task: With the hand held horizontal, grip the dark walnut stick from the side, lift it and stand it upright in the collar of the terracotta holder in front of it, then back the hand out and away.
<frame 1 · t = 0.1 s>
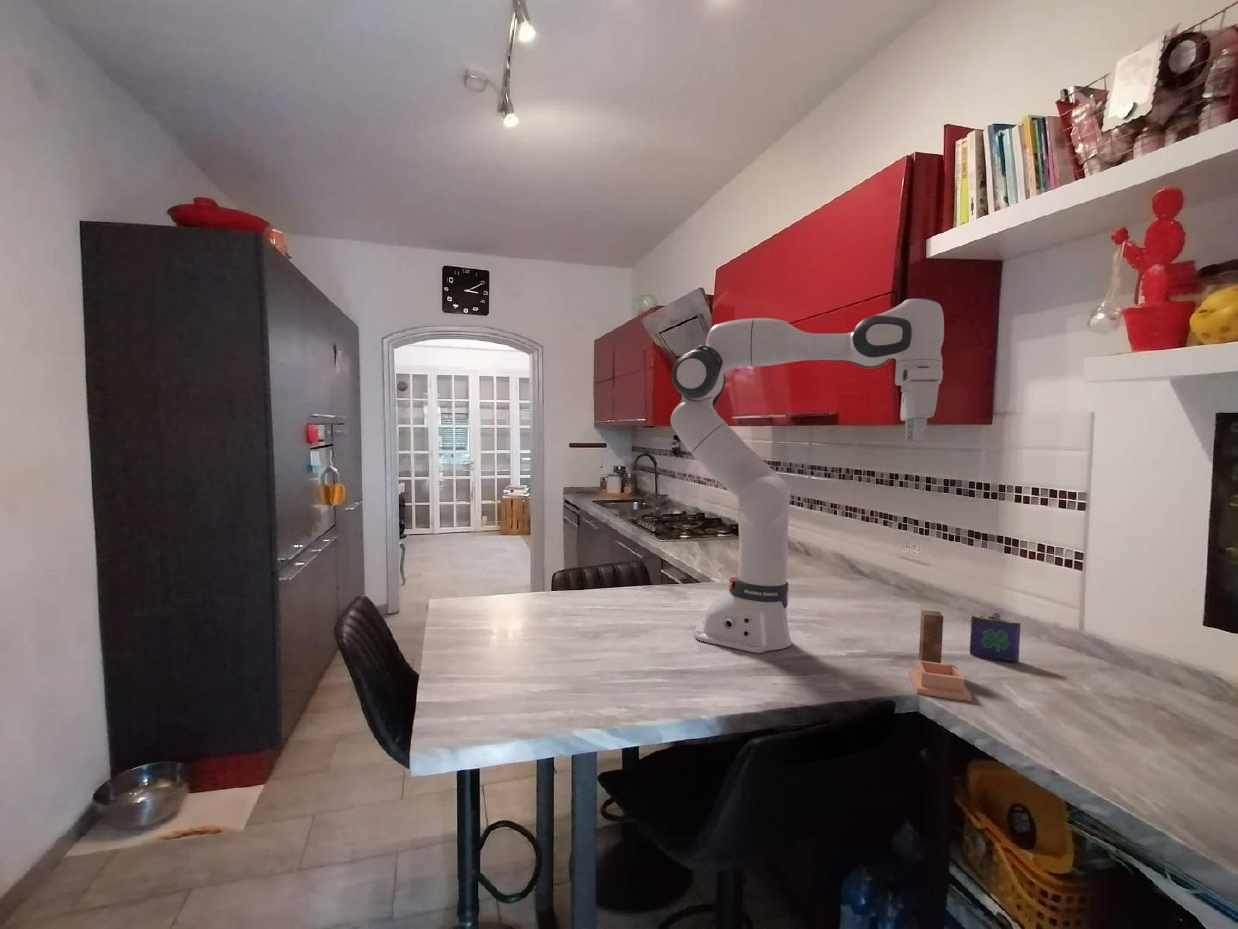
hand: (914, 440, 122), 48 cm above the breakfast bar, tool pointing down, fingers open, 8 cm apart
terracotta holder: (938, 686, 110), on the breakfast bar
walnut stick: (929, 669, 118), on the breakfast bar
flask: (993, 659, 126), on the breakfast bar
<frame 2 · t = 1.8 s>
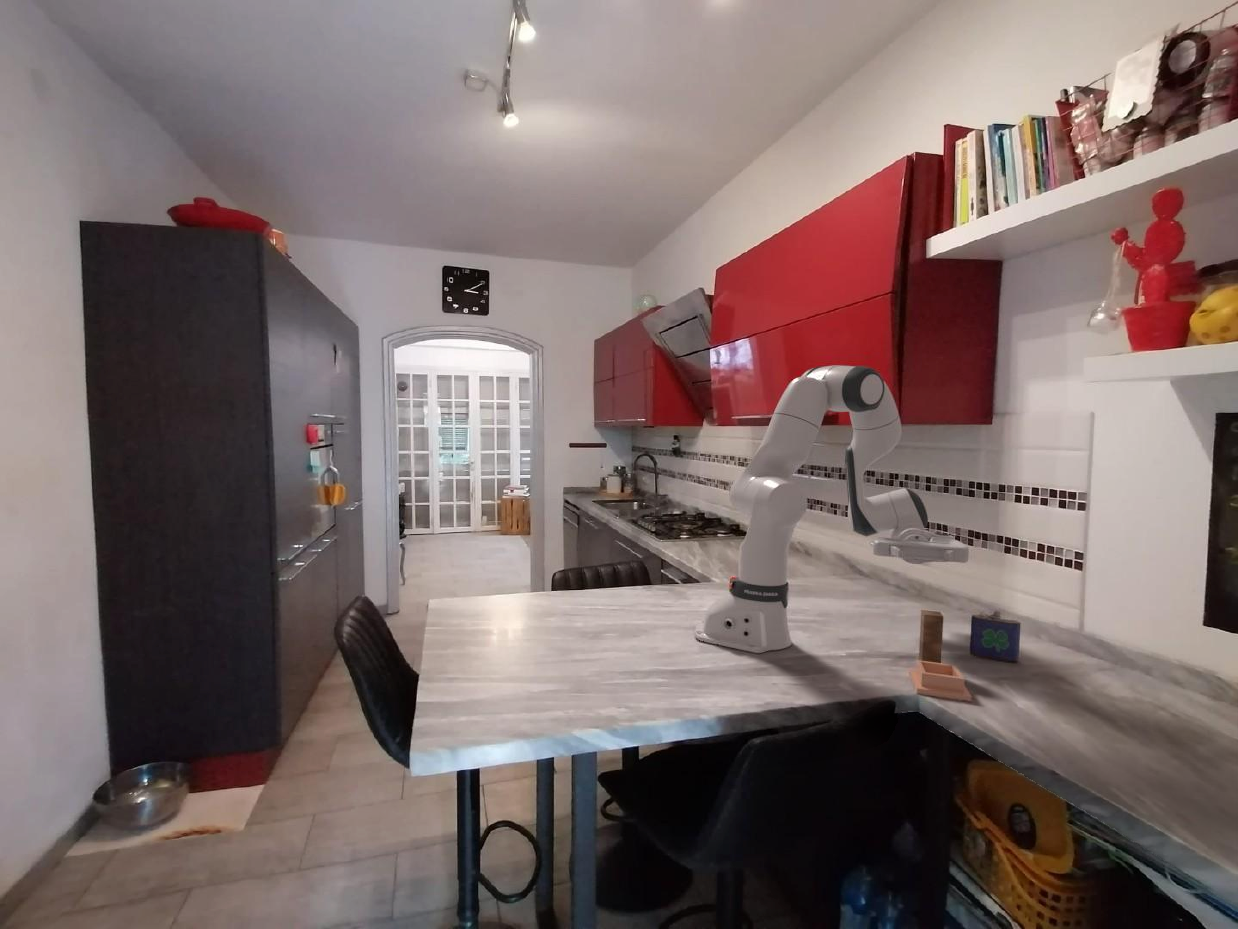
hand: (924, 555, 129), 22 cm above the breakfast bar, tool horizontal, fingers open, 8 cm apart
nothing on the breakfast bar moved.
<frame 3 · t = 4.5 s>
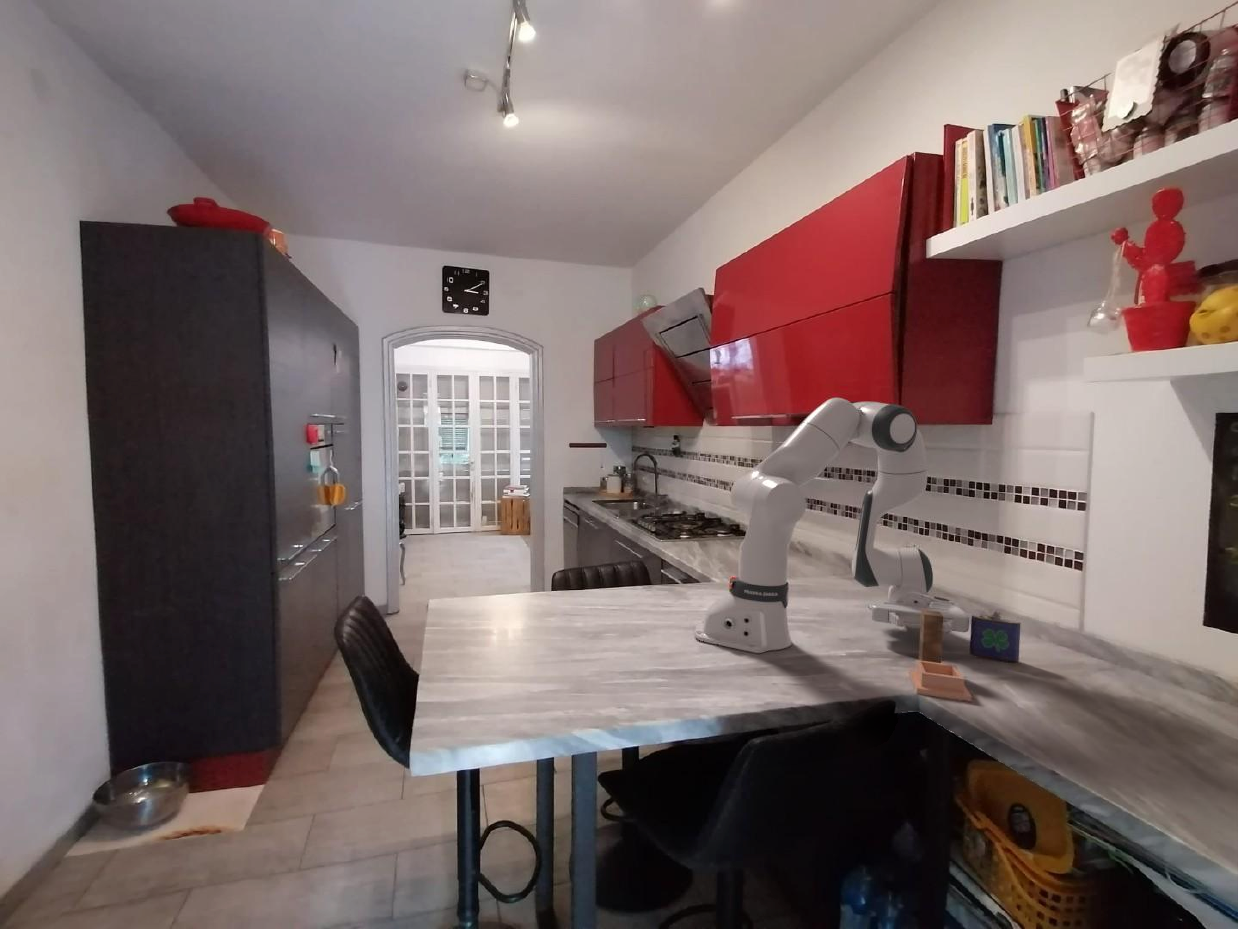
hand: (923, 626, 125), 7 cm above the breakfast bar, tool horizontal, fingers open, 8 cm apart
nothing on the breakfast bar moved.
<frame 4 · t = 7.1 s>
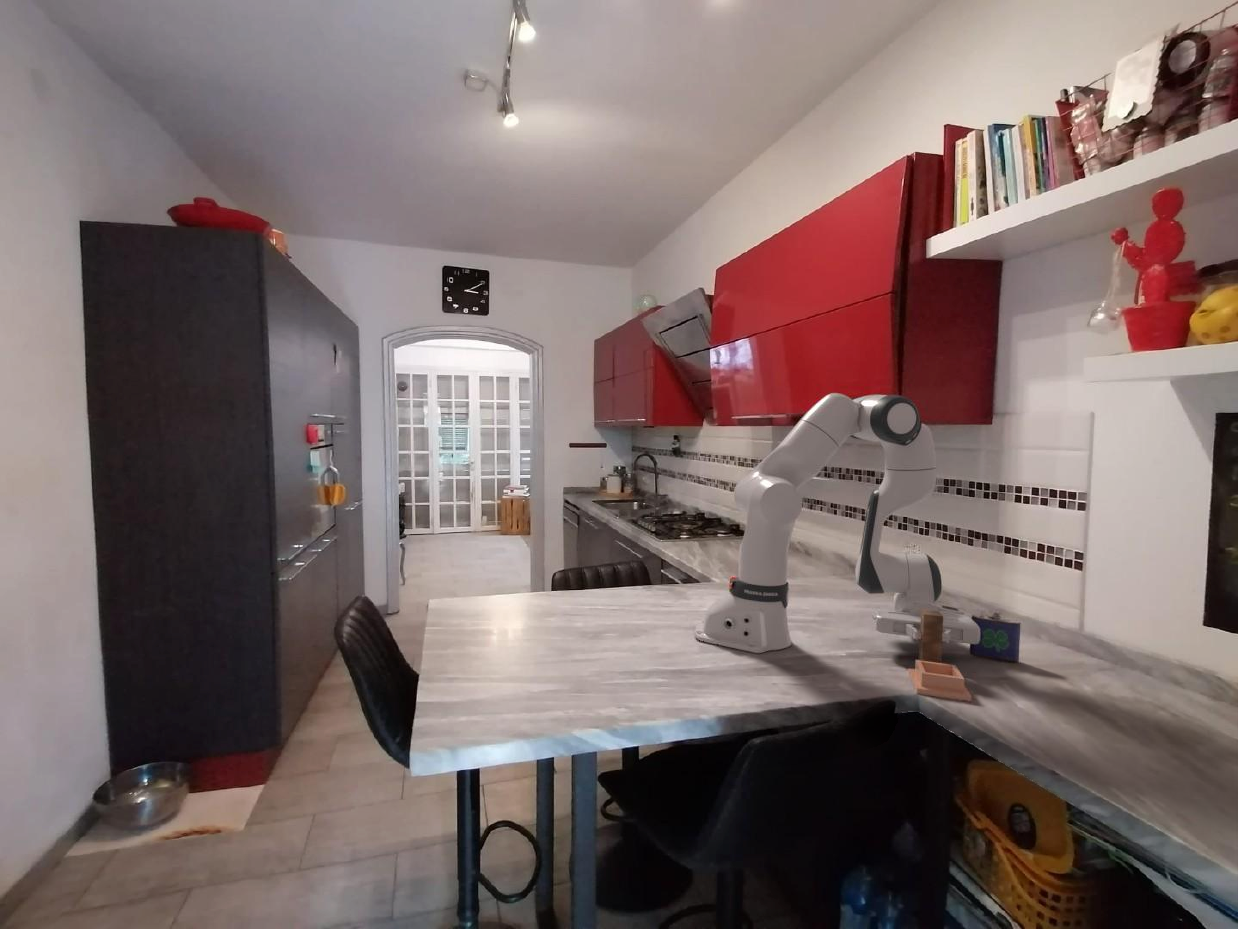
hand: (931, 637, 117), 7 cm above the breakfast bar, tool horizontal, fingers closed on walnut stick, 3 cm apart
walnut stick: (929, 669, 118), on the breakfast bar, touching gripper
everything else where it was.
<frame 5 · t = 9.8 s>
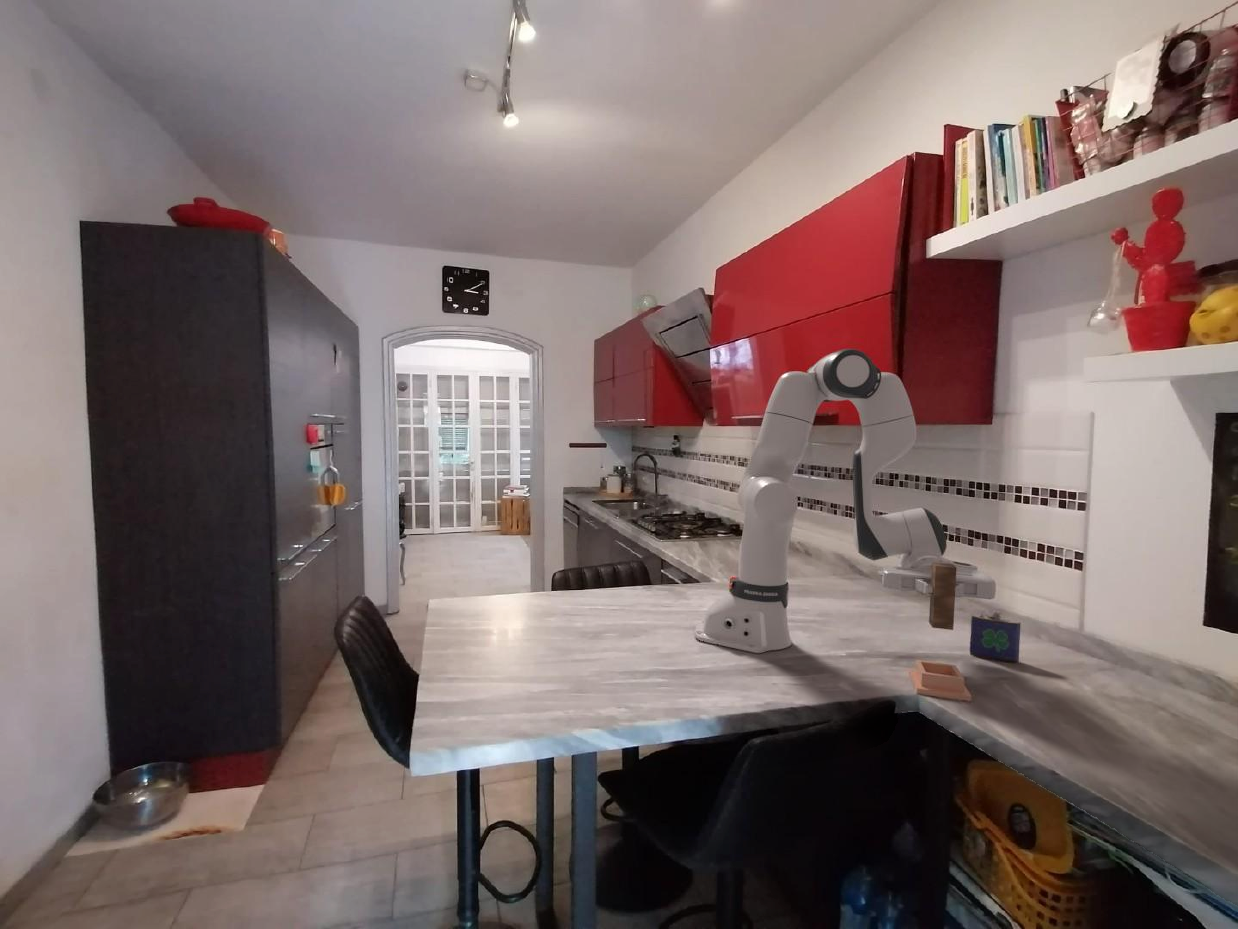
hand: (943, 591, 109), 19 cm above the breakfast bar, tool horizontal, fingers closed on walnut stick, 3 cm apart
walnut stick: (940, 626, 110), point 12 cm above the breakfast bar, touching gripper
everything else where it was.
when the fingers open (9 cm above the breakfast bar, at t = 12.9 s): walnut stick stays where it is, resting on terracotta holder.
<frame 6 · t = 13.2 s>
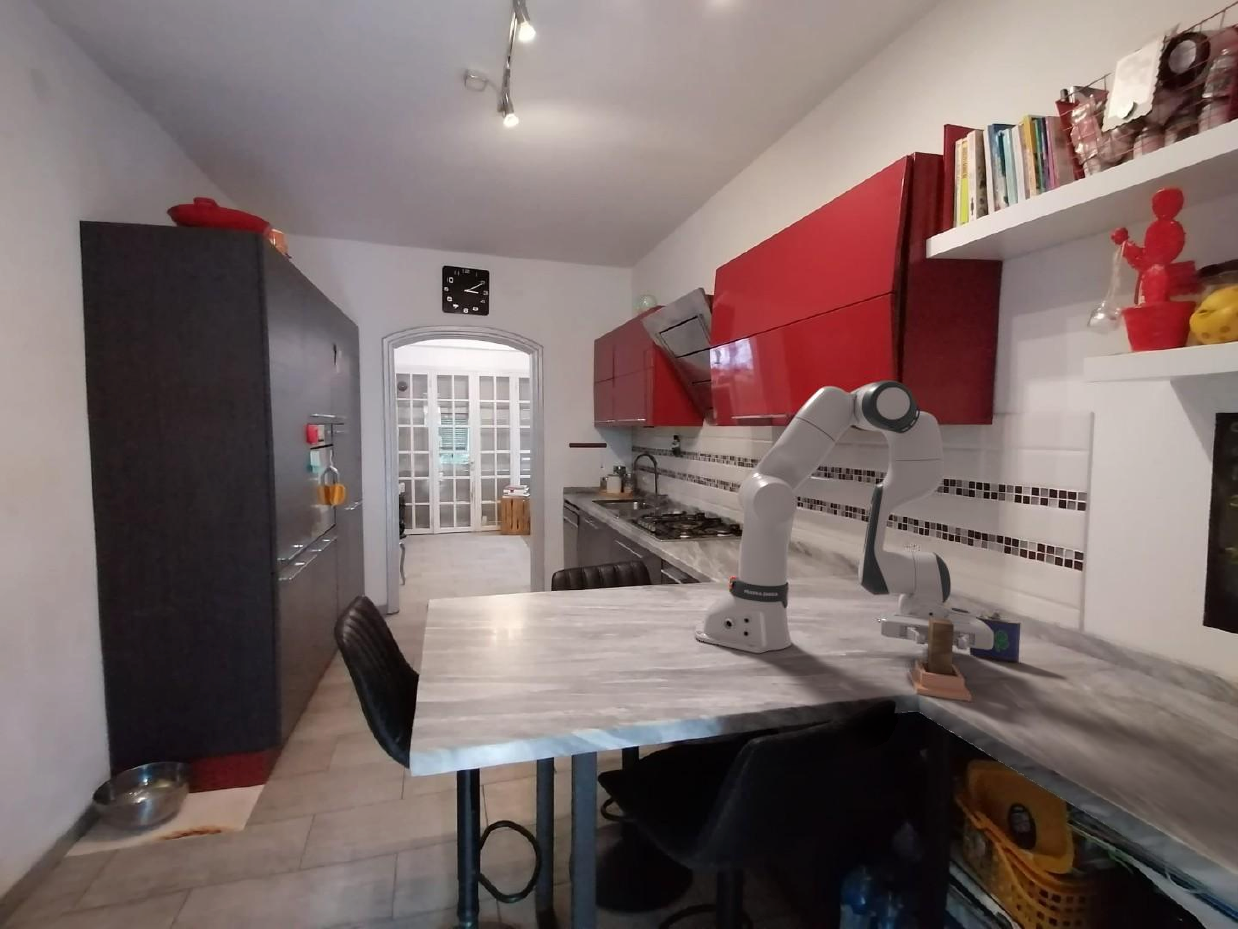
hand: (941, 642, 109), 9 cm above the breakfast bar, tool horizontal, fingers open, 6 cm apart
walnut stick: (938, 681, 110), point 1 cm above the breakfast bar, touching terracotta holder
everything else where it was.
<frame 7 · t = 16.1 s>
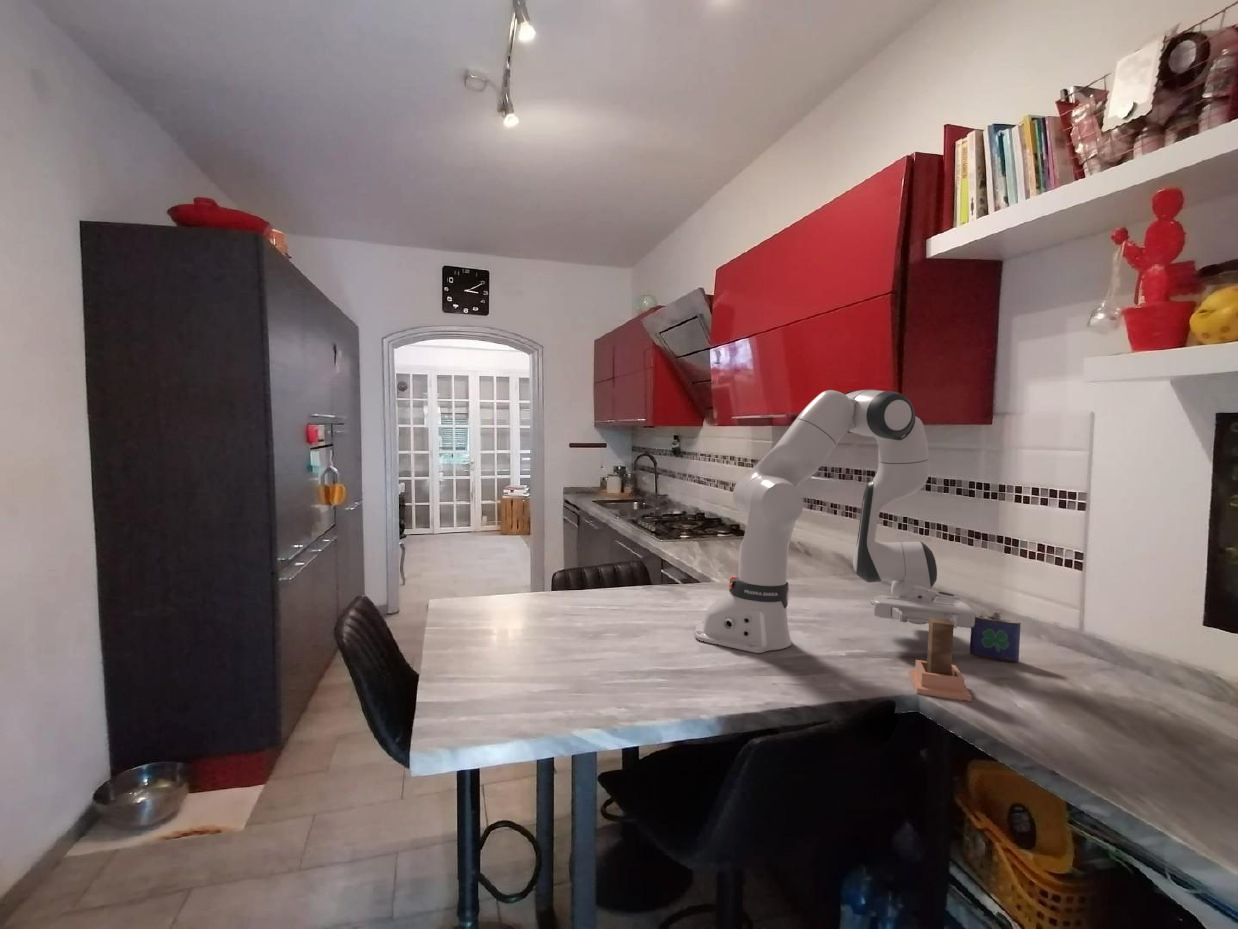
hand: (928, 621, 121), 9 cm above the breakfast bar, tool horizontal, fingers open, 8 cm apart
nothing on the breakfast bar moved.
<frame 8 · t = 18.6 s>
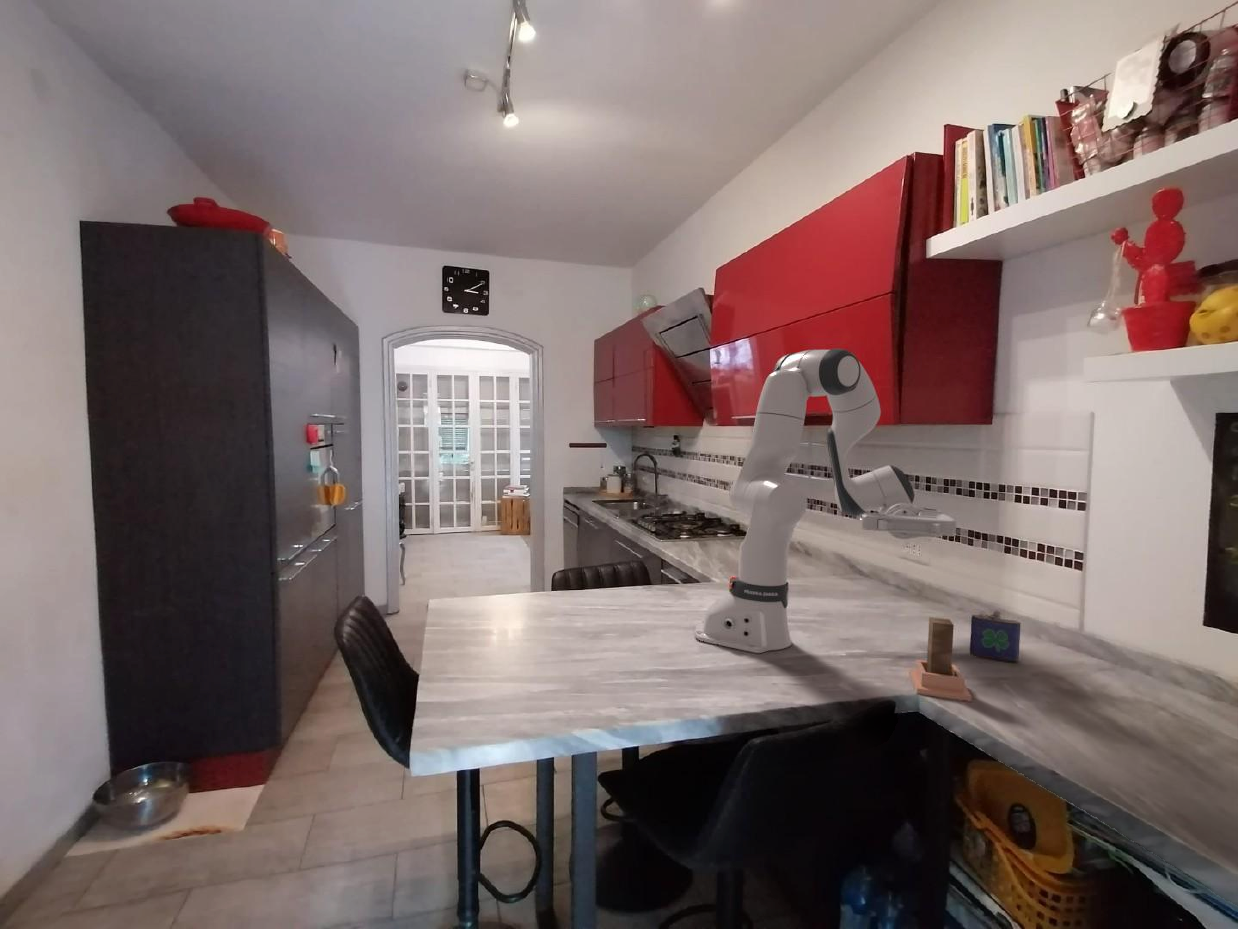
hand: (911, 528, 129), 28 cm above the breakfast bar, tool horizontal, fingers open, 8 cm apart
nothing on the breakfast bar moved.
at the end: walnut stick 0.1 cm off-centre on the terracotta holder, point 1.0 cm above the terracotta holder's base; walnut stick tilted 0°; the gripper is holding nothing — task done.
